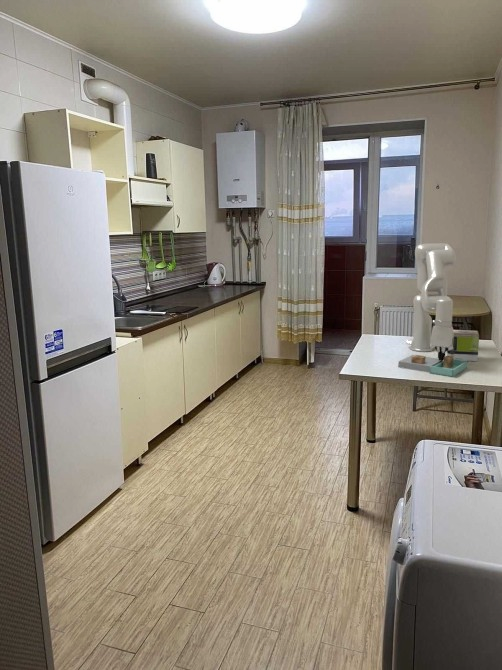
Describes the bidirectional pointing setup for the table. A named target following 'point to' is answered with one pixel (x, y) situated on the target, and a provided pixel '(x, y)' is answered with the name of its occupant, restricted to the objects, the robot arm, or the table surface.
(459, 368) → the tray
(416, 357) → the wooden block
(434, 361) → the board
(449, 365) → the brown angular block
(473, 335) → the tea box
